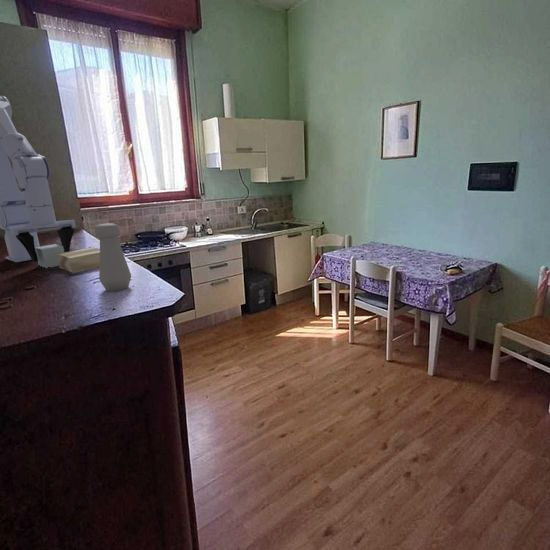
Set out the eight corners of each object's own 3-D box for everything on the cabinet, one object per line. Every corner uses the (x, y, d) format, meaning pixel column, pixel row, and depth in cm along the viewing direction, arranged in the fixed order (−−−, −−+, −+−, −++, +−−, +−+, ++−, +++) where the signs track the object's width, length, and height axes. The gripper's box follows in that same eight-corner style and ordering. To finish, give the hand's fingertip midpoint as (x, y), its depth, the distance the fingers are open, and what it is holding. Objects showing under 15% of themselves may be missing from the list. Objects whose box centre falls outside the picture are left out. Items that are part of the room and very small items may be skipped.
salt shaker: (137, 283, 74) (127, 221, 71) (124, 292, 69) (112, 225, 65) (111, 284, 75) (100, 222, 71) (95, 293, 70) (82, 226, 66)
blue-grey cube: (39, 266, 95) (34, 247, 93) (59, 261, 98) (55, 244, 97) (46, 268, 92) (41, 249, 90) (66, 264, 95) (62, 245, 94)
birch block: (59, 268, 92) (56, 253, 90) (95, 261, 98) (93, 247, 97) (73, 274, 86) (70, 258, 85) (110, 266, 92) (107, 250, 91)
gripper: (11, 209, 83) (25, 266, 87) (76, 203, 94) (86, 254, 97) (2, 208, 87) (15, 262, 91) (65, 203, 98) (75, 251, 102)
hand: (51, 258), depth 94 cm, fingers open, 7 cm apart
